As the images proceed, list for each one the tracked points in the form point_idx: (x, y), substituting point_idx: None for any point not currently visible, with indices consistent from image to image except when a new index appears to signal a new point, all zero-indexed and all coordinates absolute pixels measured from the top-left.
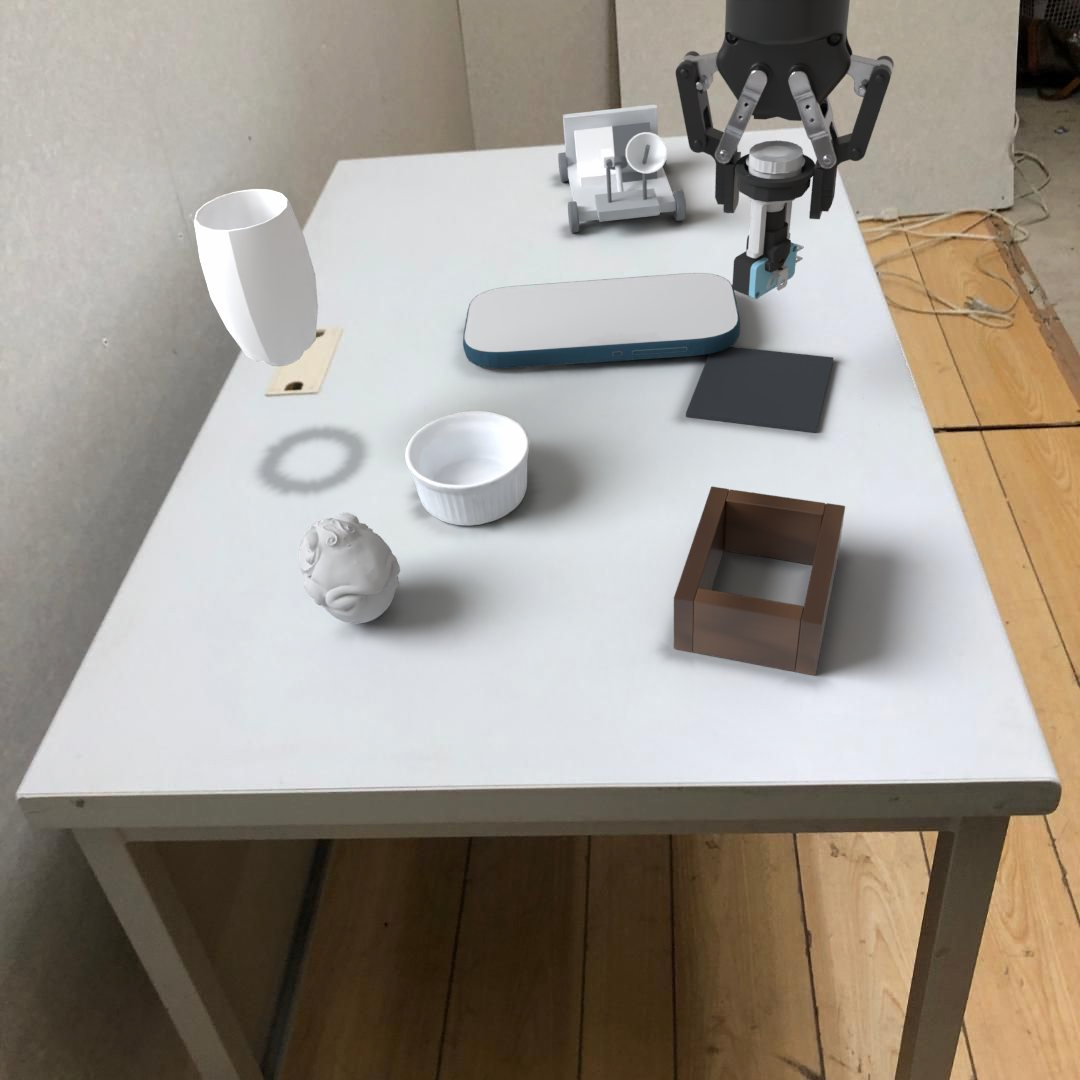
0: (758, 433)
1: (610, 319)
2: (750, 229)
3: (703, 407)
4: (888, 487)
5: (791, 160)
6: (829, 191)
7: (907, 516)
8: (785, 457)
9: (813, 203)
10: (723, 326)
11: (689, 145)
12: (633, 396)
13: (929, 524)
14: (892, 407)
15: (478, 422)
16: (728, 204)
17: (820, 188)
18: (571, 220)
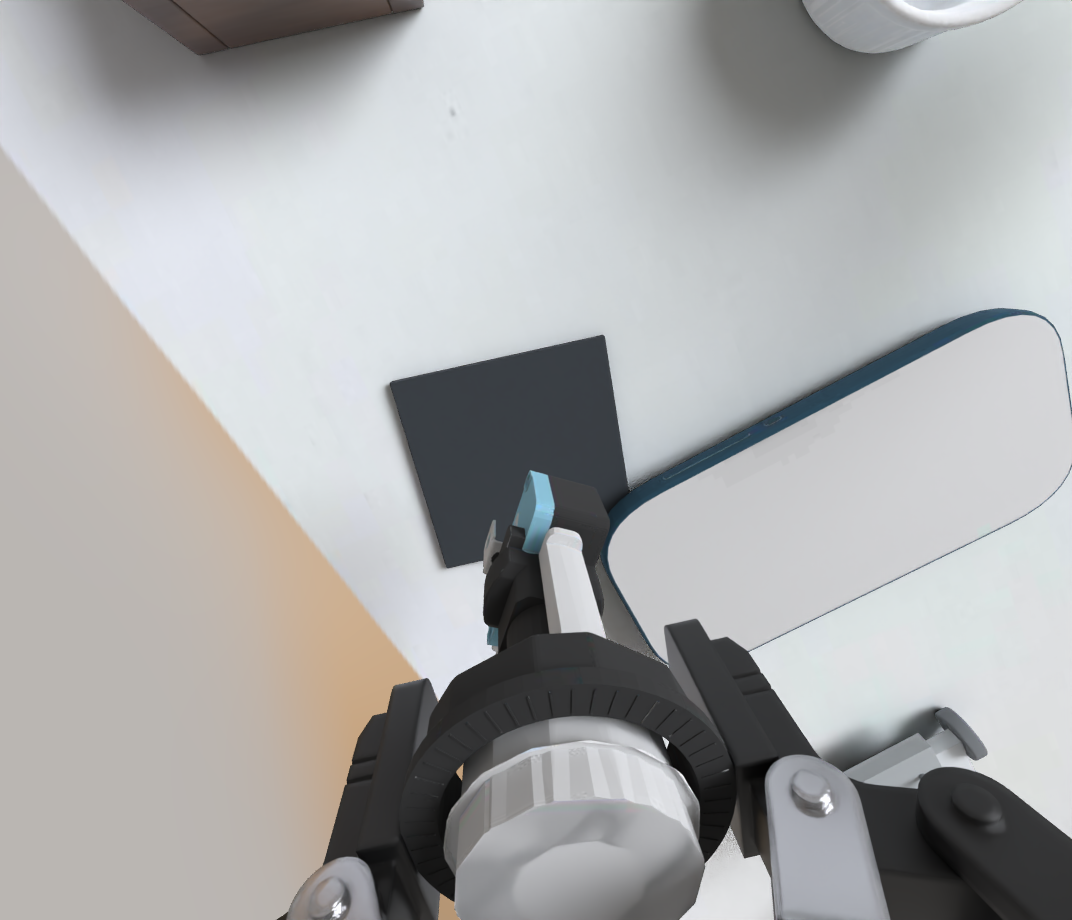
0: (474, 342)
1: (817, 494)
2: (587, 584)
3: (582, 361)
4: (221, 291)
5: (474, 845)
6: (357, 777)
7: (156, 228)
8: (406, 298)
9: (407, 717)
10: (625, 545)
11: (1009, 790)
12: (706, 353)
13: (114, 222)
14: (315, 493)
15: (976, 4)
16: (690, 636)
17: (379, 773)
18: (962, 721)
